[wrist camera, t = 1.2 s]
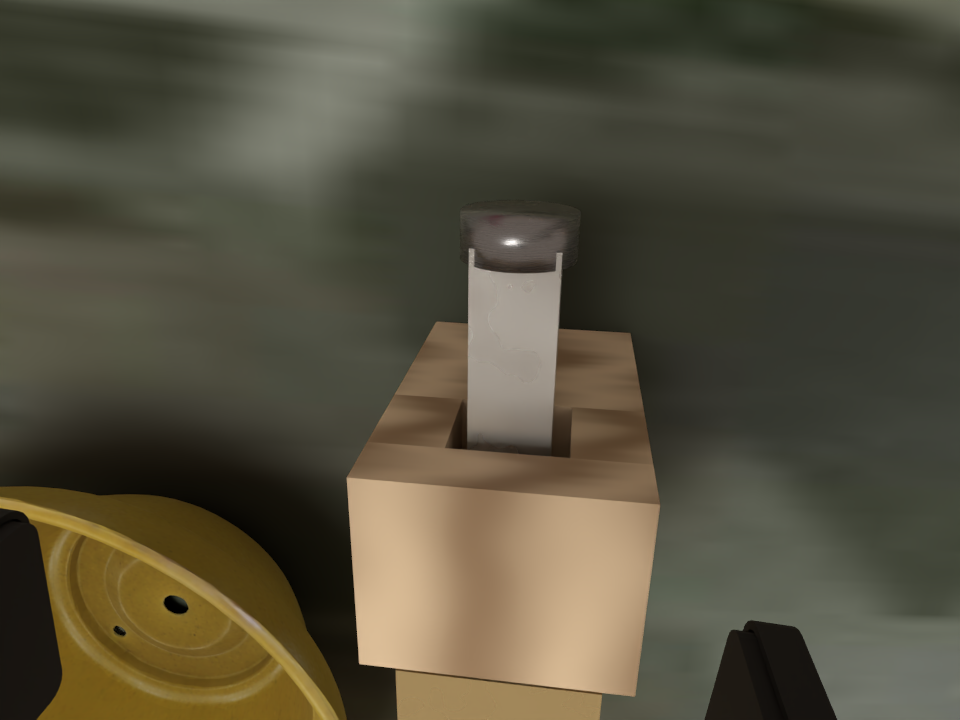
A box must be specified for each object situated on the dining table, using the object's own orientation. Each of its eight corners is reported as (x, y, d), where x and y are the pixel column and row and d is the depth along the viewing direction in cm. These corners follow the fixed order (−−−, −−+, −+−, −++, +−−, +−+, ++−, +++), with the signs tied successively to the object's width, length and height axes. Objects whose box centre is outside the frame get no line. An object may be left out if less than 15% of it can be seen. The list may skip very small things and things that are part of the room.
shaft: (580, 202, 25) (580, 225, 22) (546, 716, 35) (541, 792, 31) (469, 197, 26) (451, 220, 22) (465, 706, 35) (451, 779, 32)
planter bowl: (451, 420, 39) (390, 581, 27) (404, 805, 52) (348, 1034, 40) (-86, 326, 42) (-365, 435, 30) (-6, 716, 55) (-177, 905, 42)
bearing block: (630, 332, 36) (660, 504, 22) (616, 469, 39) (634, 696, 25) (436, 321, 37) (346, 477, 23) (437, 454, 40) (359, 664, 26)
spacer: (598, 560, 34) (602, 694, 27) (593, 609, 35) (595, 751, 28) (434, 544, 35) (395, 670, 28) (435, 592, 36) (397, 726, 29)
